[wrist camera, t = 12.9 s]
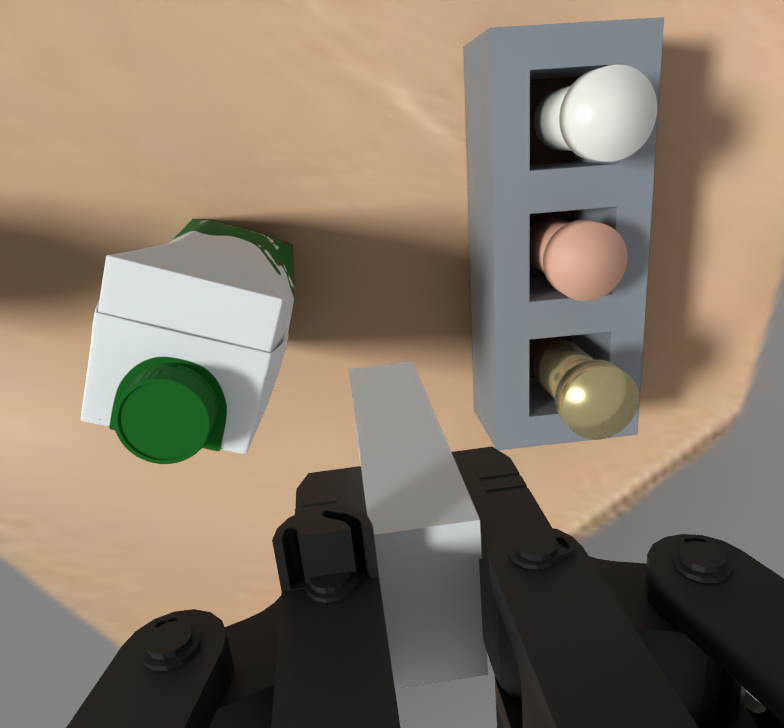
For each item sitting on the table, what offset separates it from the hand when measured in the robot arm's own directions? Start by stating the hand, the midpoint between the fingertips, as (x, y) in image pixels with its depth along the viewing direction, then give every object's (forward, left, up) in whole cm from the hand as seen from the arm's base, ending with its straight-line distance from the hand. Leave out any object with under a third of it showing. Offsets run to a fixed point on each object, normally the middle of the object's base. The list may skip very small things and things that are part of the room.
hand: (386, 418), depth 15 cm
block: (+1, +14, -32) cm, 35 cm away
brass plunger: (+9, +14, -27) cm, 32 cm away
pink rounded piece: (+1, +14, -29) cm, 33 cm away
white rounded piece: (-7, +14, -27) cm, 31 cm away
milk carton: (+2, -8, -32) cm, 33 cm away
